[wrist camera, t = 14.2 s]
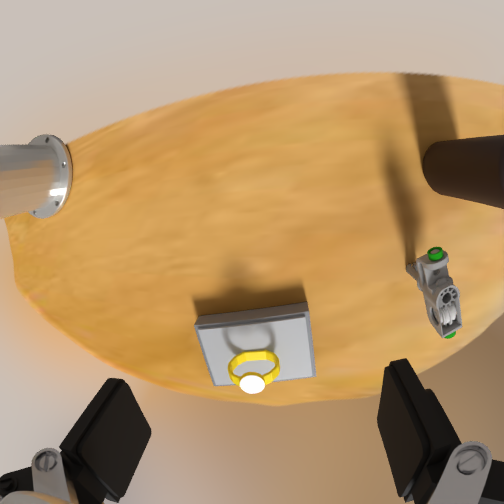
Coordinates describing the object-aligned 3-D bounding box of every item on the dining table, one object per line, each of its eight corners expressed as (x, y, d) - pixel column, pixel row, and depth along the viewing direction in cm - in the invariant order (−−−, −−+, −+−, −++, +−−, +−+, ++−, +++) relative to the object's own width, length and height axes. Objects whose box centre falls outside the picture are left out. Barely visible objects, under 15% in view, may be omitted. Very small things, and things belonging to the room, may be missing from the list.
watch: (277, 342, 35) (280, 371, 29) (279, 360, 35) (282, 390, 30) (228, 348, 35) (223, 377, 29) (232, 365, 36) (228, 396, 30)
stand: (217, 374, 40) (213, 387, 37) (199, 315, 38) (193, 326, 35) (314, 364, 38) (316, 378, 35) (307, 301, 36) (309, 312, 33)
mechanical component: (410, 226, 32) (451, 247, 22) (428, 296, 34) (463, 332, 24) (390, 236, 33) (427, 260, 23) (410, 305, 35) (442, 344, 25)
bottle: (466, 152, 28) (583, 155, 9) (457, 201, 30) (572, 237, 11) (426, 133, 29) (544, 114, 9) (416, 185, 31) (535, 210, 11)
